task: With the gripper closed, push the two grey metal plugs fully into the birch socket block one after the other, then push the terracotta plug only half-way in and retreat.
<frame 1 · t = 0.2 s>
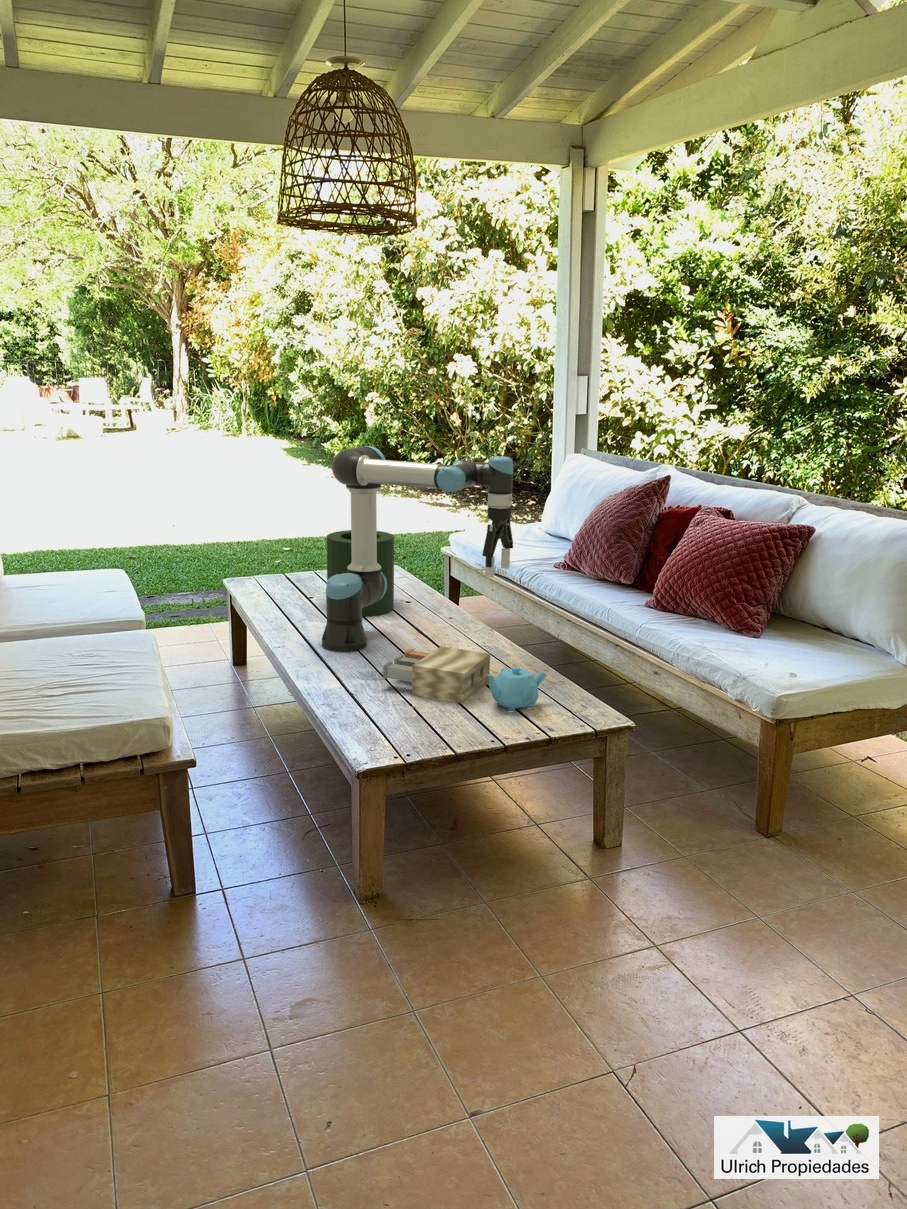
hand: (497, 572, 306), 28 cm above the table, fingers open, 13 cm apart
grey plug near: (412, 674, 279), point 5 cm above the table, slide at 0.0 cm
grey plug middle: (422, 667, 285), point 5 cm above the table, slide at 0.0 cm
terracotta plug: (432, 660, 291), point 5 cm above the table, slide at 0.0 cm
flower pot: (360, 608, 366), on the table
teapot: (515, 706, 270), on the table
socket block: (451, 688, 282), on the table
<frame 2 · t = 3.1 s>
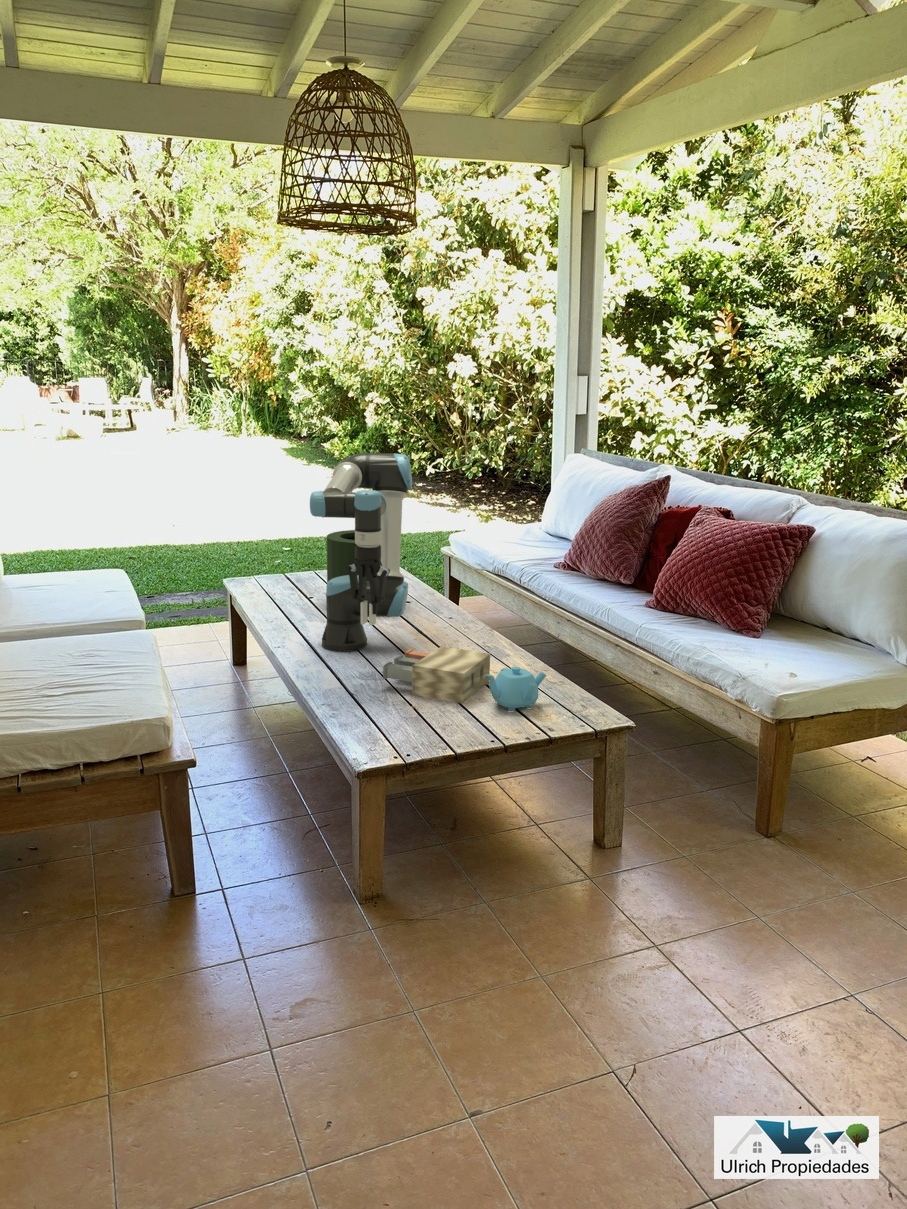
hand: (368, 623, 281), 18 cm above the table, fingers open, 2 cm apart
nothing on the table moved.
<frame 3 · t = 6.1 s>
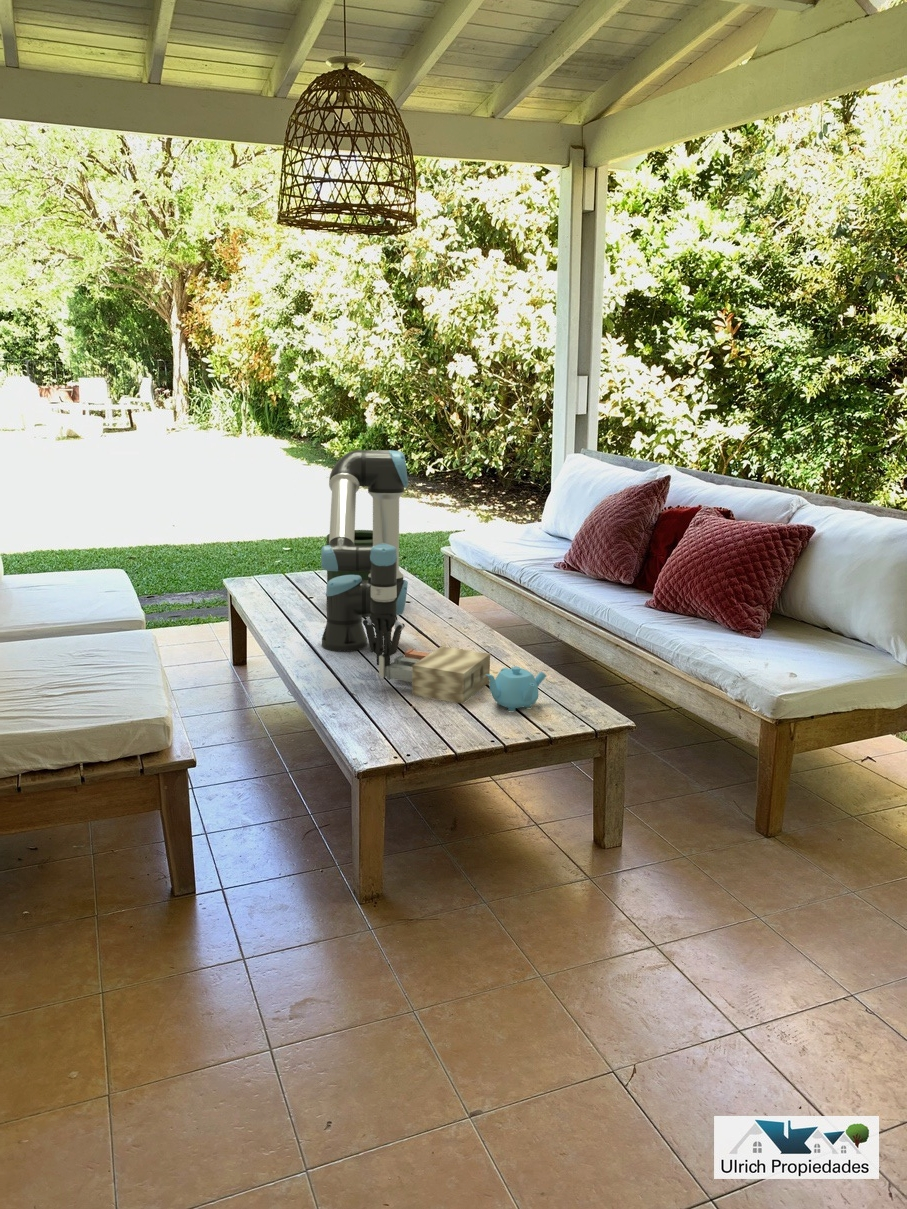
hand: (383, 676, 283), 3 cm above the table, fingers closed
grey plug near: (415, 675, 278), point 5 cm above the table, slide at 1.1 cm, touching gripper
everything else where it was.
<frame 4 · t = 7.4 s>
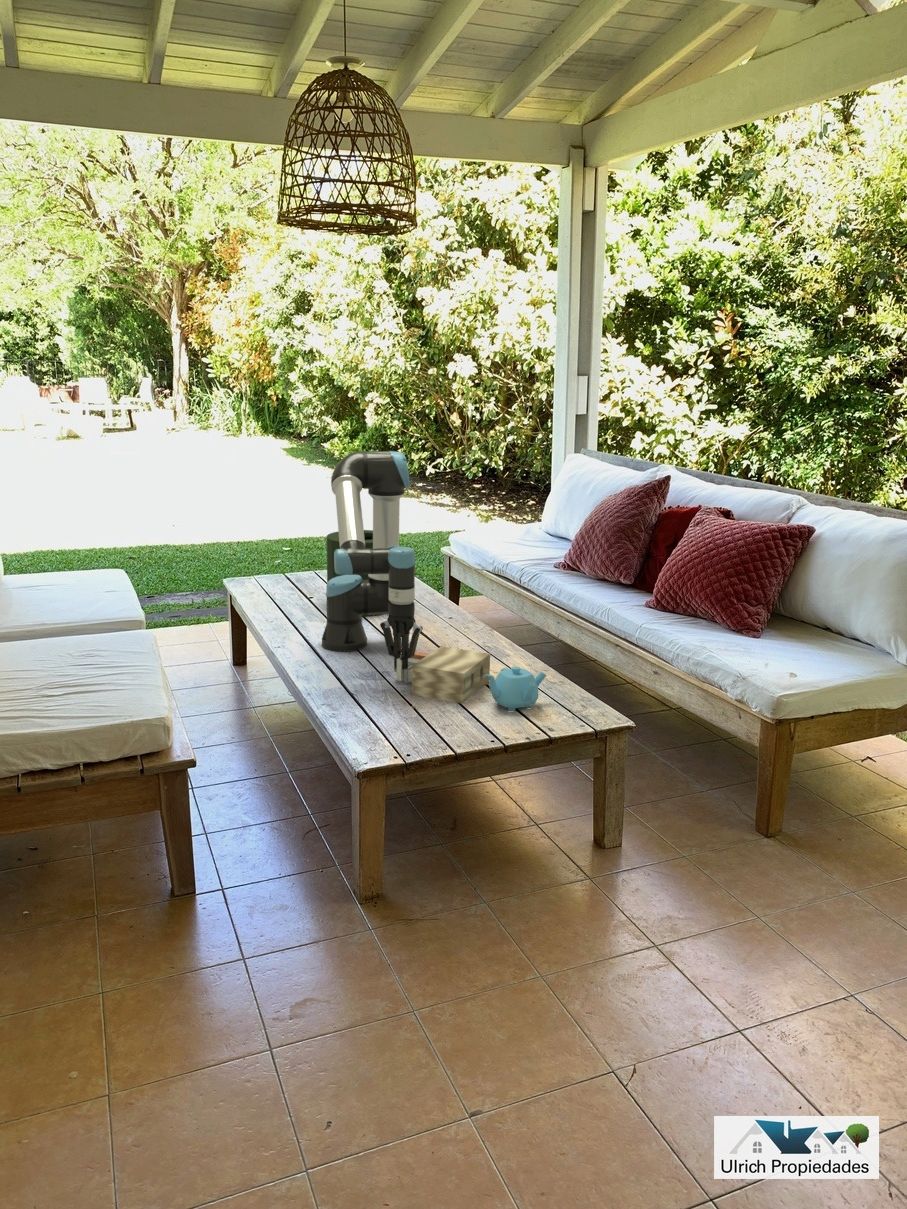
hand: (400, 679, 280), 3 cm above the table, fingers closed
grey plug near: (433, 678, 276), point 5 cm above the table, slide at 6.9 cm, touching gripper
everything else where it was.
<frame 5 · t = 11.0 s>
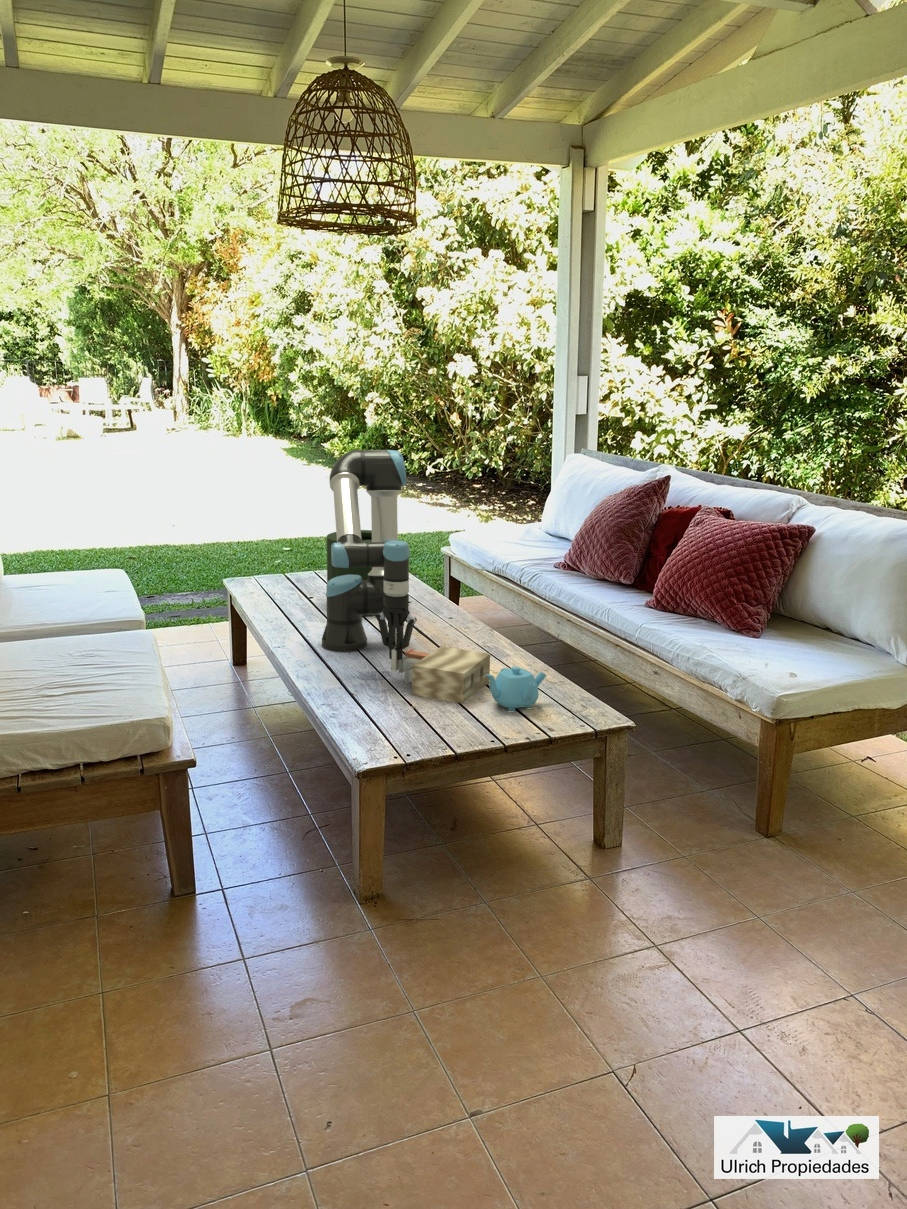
hand: (395, 669, 288), 3 cm above the table, fingers closed
grey plug near: (434, 678, 276), point 5 cm above the table, slide at 7.0 cm
grey plug middle: (427, 668, 284), point 5 cm above the table, slide at 1.6 cm, touching gripper
everything else where it was.
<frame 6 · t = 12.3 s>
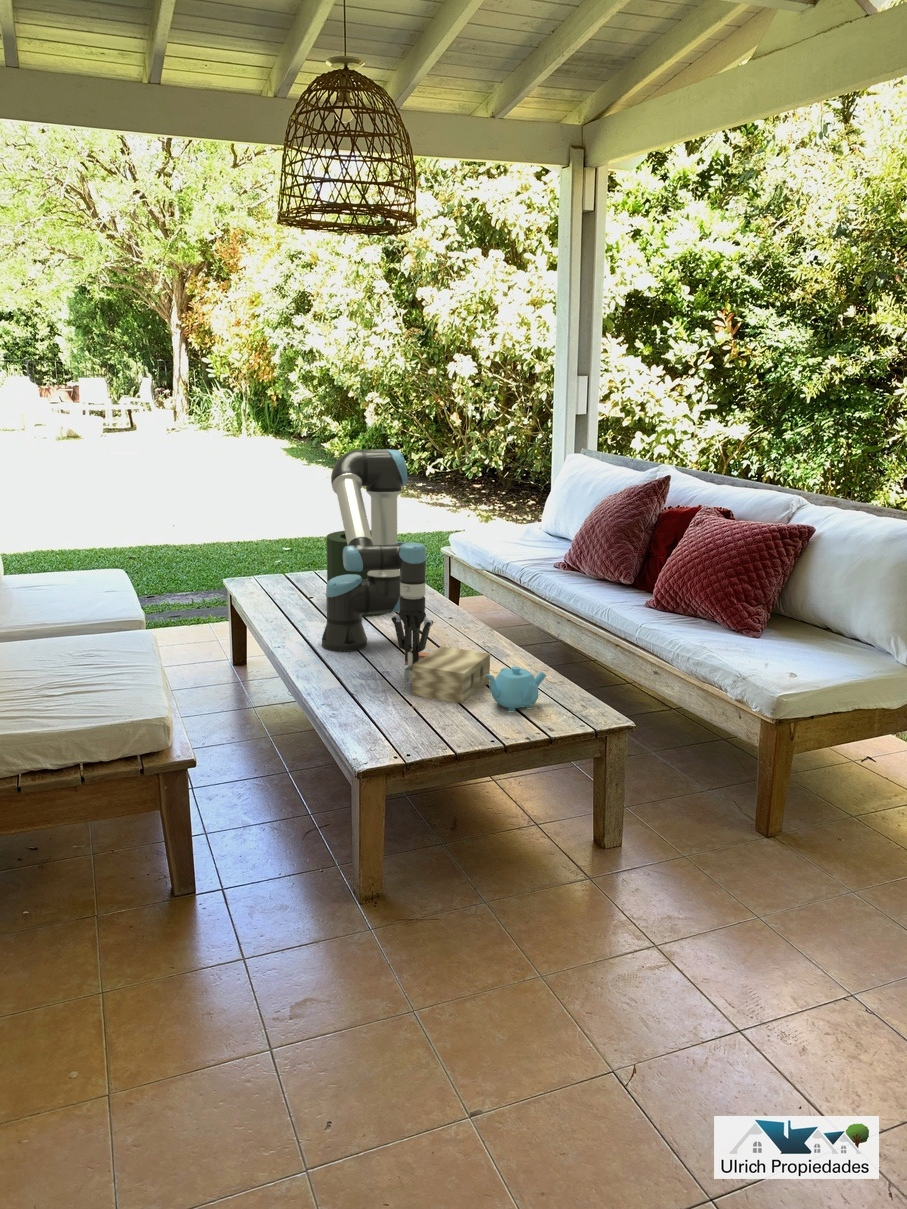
hand: (411, 672, 287), 3 cm above the table, fingers closed
grey plug middle: (444, 671, 282), point 5 cm above the table, slide at 7.0 cm, touching gripper
everything else where it was.
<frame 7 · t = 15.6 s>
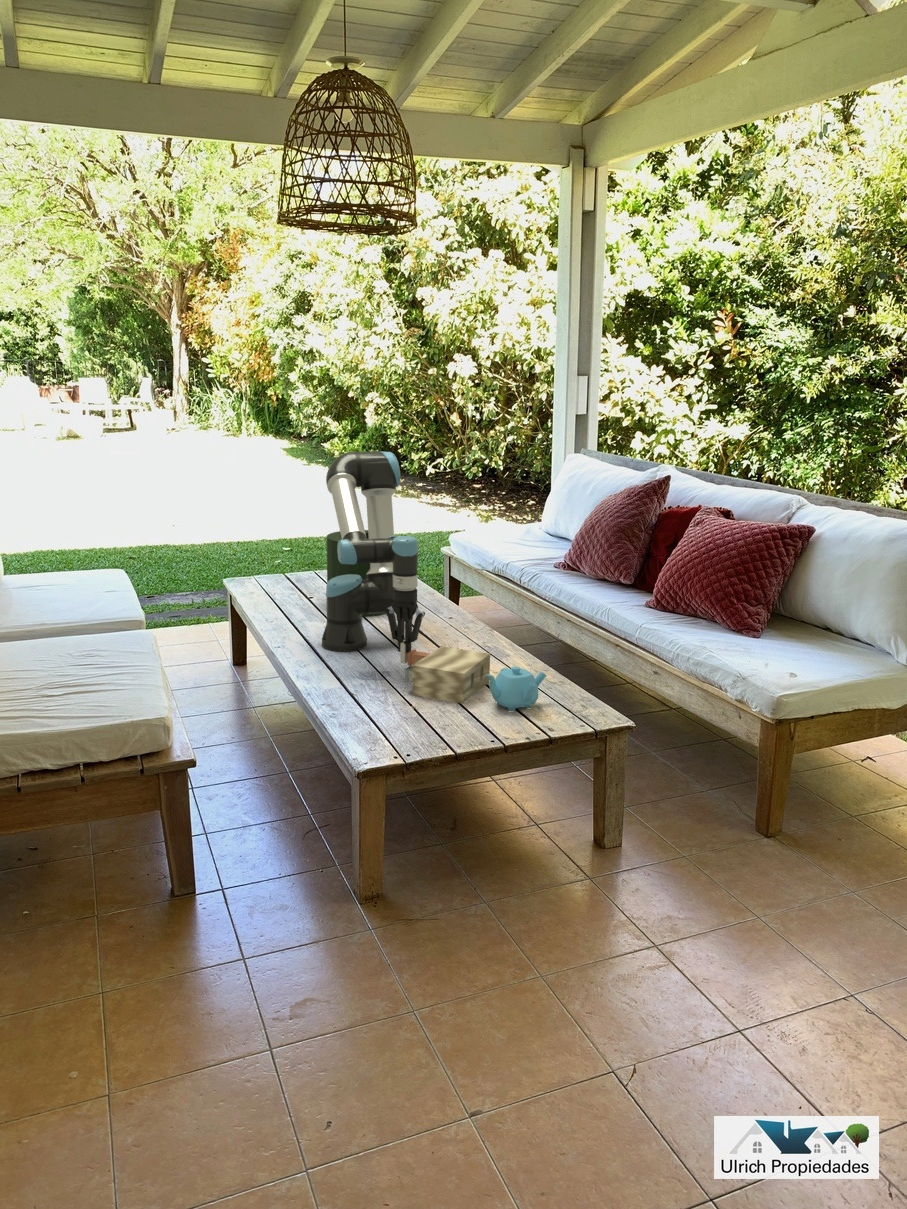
hand: (404, 662, 295), 3 cm above the table, fingers closed
grey plug middle: (444, 671, 282), point 5 cm above the table, slide at 7.0 cm
terracotta plug: (435, 661, 291), point 5 cm above the table, slide at 1.0 cm, touching gripper
everything else where it was.
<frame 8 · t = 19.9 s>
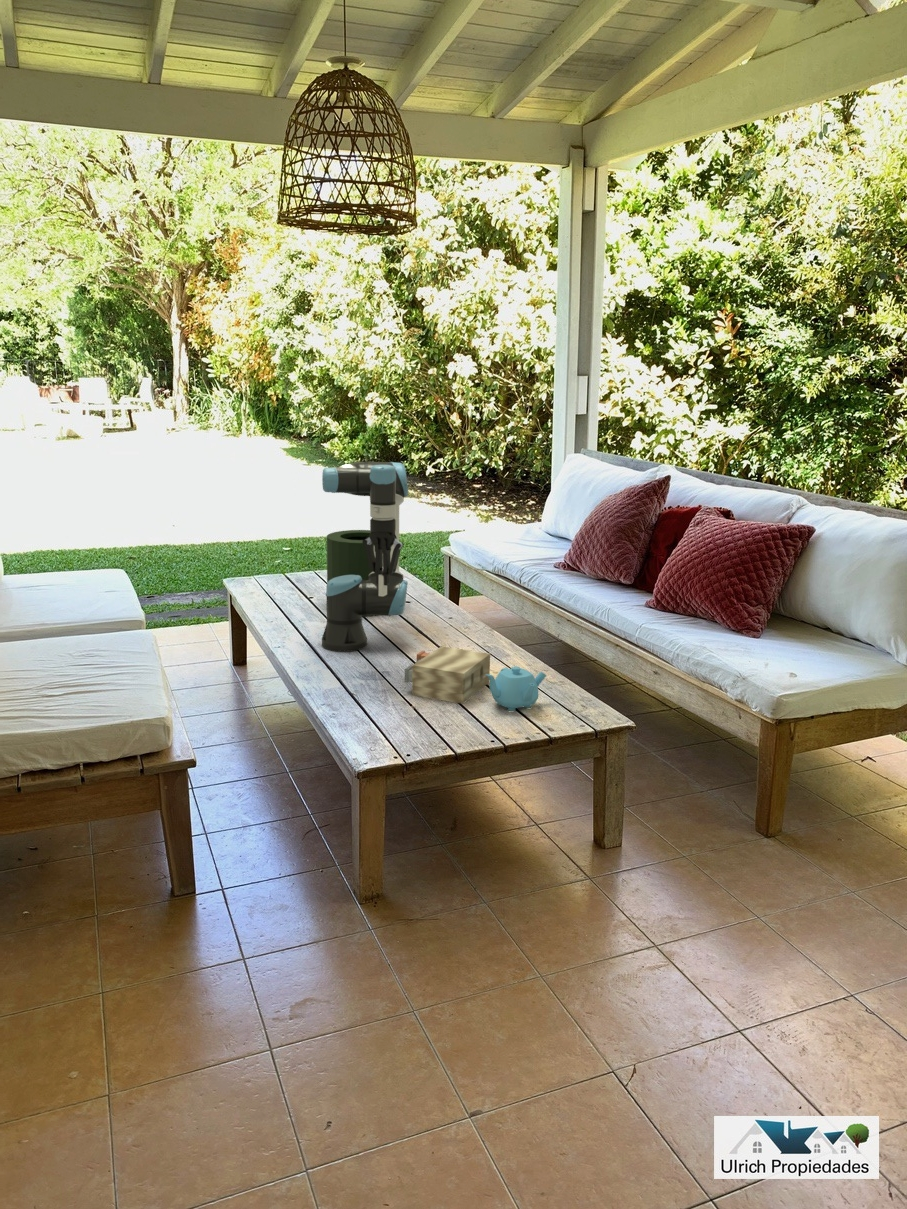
hand: (382, 595, 289), 24 cm above the table, fingers closed
terracotta plug: (444, 662, 289), point 5 cm above the table, slide at 4.0 cm
everything else where it was.
at the end: grey plug near slide at 7.0 cm; grey plug middle slide at 7.0 cm; terracotta plug slide at 4.0 cm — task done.
